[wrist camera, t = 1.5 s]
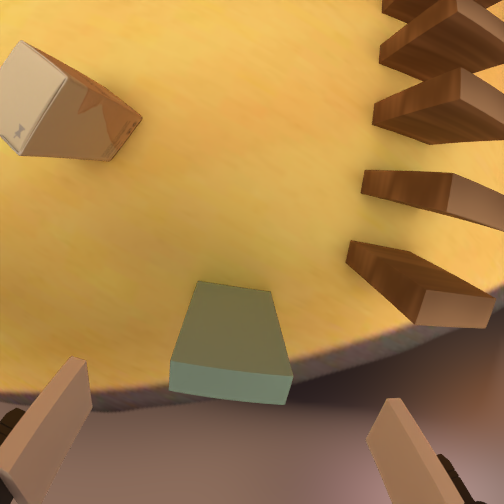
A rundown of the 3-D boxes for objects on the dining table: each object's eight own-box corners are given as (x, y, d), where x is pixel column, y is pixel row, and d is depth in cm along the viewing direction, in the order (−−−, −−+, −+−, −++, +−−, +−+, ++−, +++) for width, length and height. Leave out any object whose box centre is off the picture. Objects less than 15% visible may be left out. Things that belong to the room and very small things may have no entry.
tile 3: (429, 144, 22) (526, 139, 11) (371, 124, 21) (460, 98, 11) (431, 124, 21) (526, 110, 11) (374, 103, 21) (460, 66, 10)
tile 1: (404, 272, 24) (485, 328, 14) (345, 262, 24) (414, 324, 13) (409, 251, 24) (496, 298, 13) (350, 240, 24) (426, 289, 13)
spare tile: (266, 312, 25) (284, 404, 14) (195, 302, 24) (168, 390, 14) (270, 291, 24) (293, 376, 14) (198, 280, 24) (170, 360, 13)
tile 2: (419, 208, 23) (513, 234, 12) (360, 193, 23) (446, 211, 12) (423, 187, 23) (519, 202, 12) (364, 170, 22) (453, 173, 12)
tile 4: (434, 86, 21) (523, 58, 10) (378, 63, 20) (457, 11, 10) (435, 69, 20) (520, 35, 10) (380, 45, 20) (454, -11, 9)
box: (144, 118, 21) (73, 79, 10) (109, 163, 21) (20, 162, 11) (99, 82, 20) (18, 36, 9) (67, 126, 20) (-27, 108, 10)
